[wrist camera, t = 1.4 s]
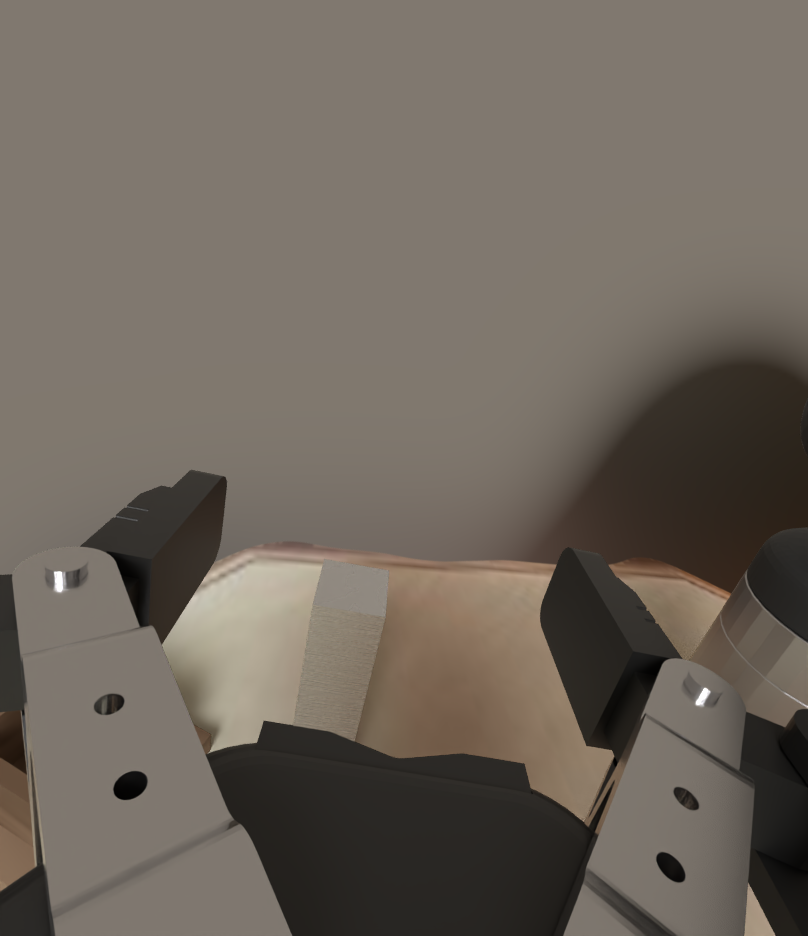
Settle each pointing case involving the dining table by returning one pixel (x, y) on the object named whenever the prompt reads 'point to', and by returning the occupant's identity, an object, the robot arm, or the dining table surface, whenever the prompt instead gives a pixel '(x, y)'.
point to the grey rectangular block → (341, 647)
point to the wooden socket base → (23, 799)
